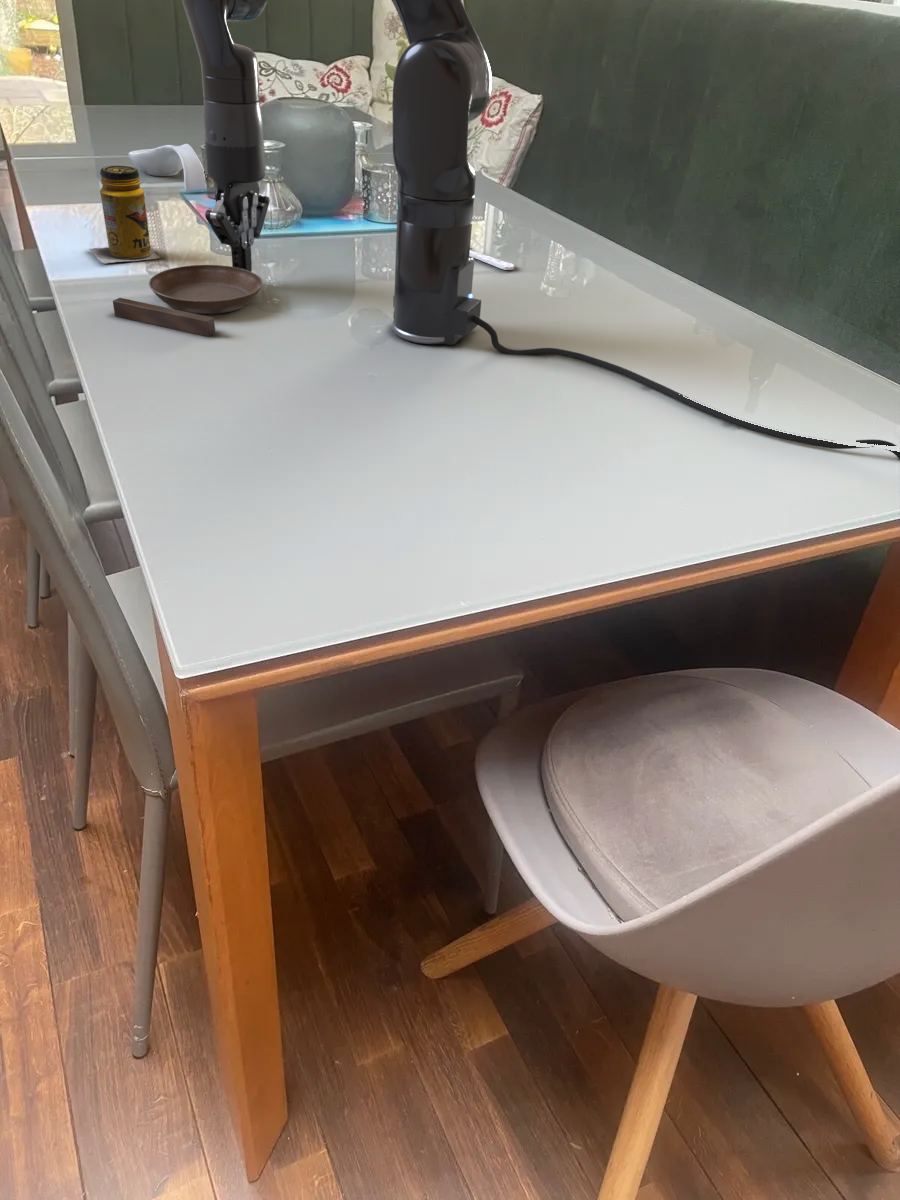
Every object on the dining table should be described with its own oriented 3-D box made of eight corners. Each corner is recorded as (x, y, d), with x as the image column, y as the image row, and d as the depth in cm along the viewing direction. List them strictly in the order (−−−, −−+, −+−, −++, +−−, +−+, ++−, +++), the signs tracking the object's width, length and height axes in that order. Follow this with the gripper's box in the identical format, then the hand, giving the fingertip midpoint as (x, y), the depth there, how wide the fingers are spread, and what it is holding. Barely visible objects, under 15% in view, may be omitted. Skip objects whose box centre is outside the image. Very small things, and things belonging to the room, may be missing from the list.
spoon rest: (121, 168, 180) (116, 129, 176) (177, 165, 186) (173, 126, 182) (170, 195, 165) (165, 153, 161) (228, 190, 171) (225, 149, 167)
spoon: (500, 272, 141) (500, 268, 141) (423, 243, 151) (423, 240, 150) (523, 267, 144) (523, 263, 144) (446, 239, 154) (446, 236, 154)
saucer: (194, 328, 113) (191, 307, 111) (129, 296, 120) (126, 276, 119) (285, 305, 122) (285, 285, 120) (220, 277, 129) (218, 258, 128)
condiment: (160, 259, 134) (150, 172, 127) (103, 264, 130) (89, 175, 123) (144, 246, 139) (133, 162, 132) (89, 251, 135) (74, 164, 128)
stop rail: (215, 333, 112) (214, 317, 111) (209, 337, 111) (207, 321, 110) (122, 312, 115) (119, 297, 114) (114, 316, 114) (112, 300, 113)
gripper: (231, 150, 111) (240, 290, 121) (285, 135, 121) (289, 266, 131) (179, 141, 112) (193, 280, 123) (236, 127, 122) (244, 256, 133)
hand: (242, 272), depth 127 cm, fingers closed
